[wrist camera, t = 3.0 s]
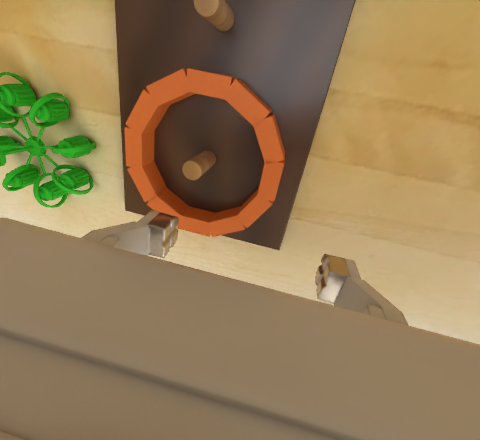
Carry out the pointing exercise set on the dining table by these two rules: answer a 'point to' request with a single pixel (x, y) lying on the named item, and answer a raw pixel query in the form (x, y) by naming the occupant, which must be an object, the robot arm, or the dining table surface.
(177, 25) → the ring toss board
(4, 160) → the chandelier
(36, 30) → the dining table surface
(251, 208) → the ring
